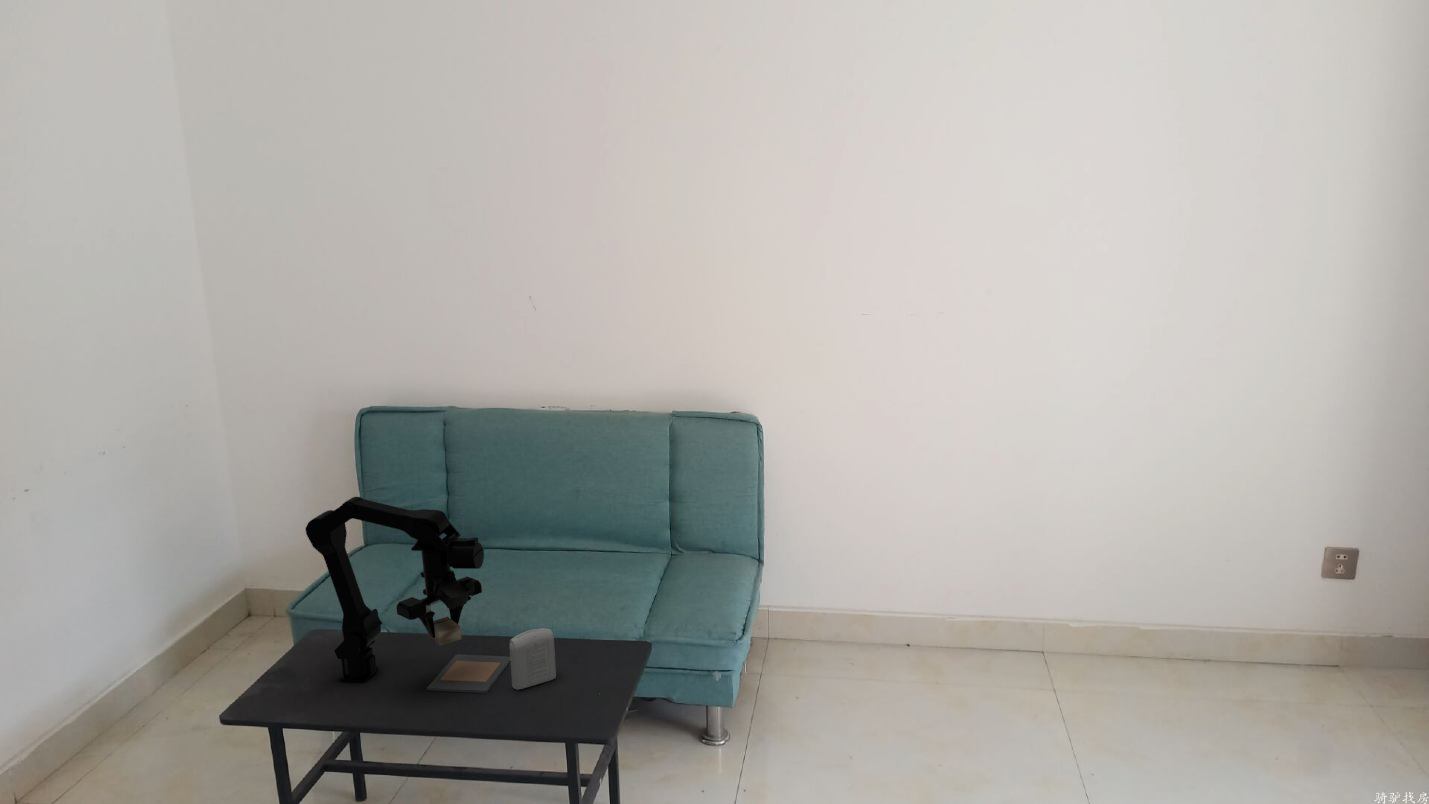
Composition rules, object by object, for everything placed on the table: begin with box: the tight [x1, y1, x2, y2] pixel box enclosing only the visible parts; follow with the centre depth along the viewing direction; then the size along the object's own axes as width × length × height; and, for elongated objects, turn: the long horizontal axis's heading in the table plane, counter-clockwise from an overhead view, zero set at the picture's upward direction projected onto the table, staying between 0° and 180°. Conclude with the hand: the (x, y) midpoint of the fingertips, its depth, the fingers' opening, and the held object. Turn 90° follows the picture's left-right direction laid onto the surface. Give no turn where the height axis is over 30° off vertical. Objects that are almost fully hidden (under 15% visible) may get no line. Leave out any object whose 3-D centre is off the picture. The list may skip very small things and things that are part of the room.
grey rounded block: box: [508, 627, 557, 691], centre depth 210 cm, size 10×4×12 cm, turn 123°
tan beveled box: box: [427, 616, 462, 647], centre depth 211 cm, size 5×7×3 cm
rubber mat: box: [426, 654, 511, 694], centre depth 216 cm, size 14×16×1 cm
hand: (444, 632), depth 212 cm, fingers closed on tan beveled box, 5 cm apart
